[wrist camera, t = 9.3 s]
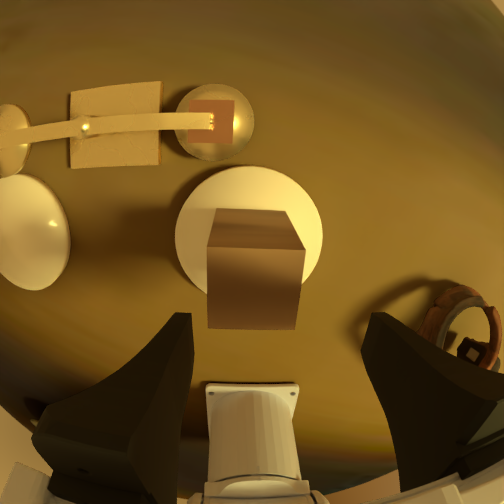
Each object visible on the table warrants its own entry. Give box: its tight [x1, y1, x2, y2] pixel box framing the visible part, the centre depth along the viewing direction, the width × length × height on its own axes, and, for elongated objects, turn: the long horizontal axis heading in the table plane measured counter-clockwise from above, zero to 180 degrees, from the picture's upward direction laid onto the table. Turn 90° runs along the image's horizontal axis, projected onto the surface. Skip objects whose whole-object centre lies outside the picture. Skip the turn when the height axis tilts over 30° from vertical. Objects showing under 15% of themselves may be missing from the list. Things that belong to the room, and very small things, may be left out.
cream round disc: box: [0, 173, 71, 290], centre depth 18 cm, size 9×9×1 cm
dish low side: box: [175, 165, 322, 294], centre depth 19 cm, size 9×9×1 cm
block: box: [207, 208, 306, 330], centre depth 16 cm, size 4×4×6 cm
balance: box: [0, 81, 254, 178], centre depth 14 cm, size 5×17×6 cm, turn 87°
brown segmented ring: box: [417, 285, 502, 372], centre depth 22 cm, size 12×10×8 cm
